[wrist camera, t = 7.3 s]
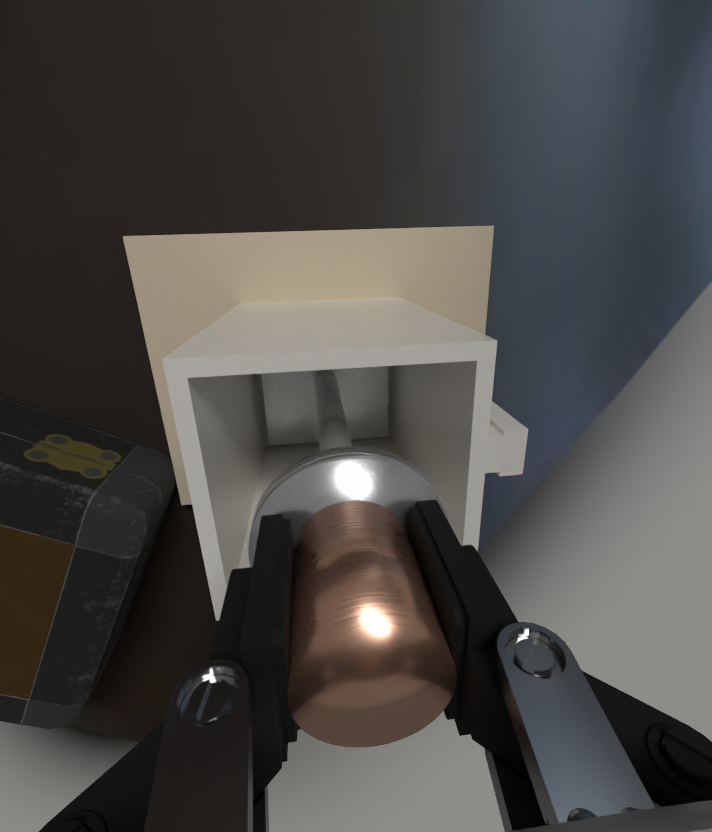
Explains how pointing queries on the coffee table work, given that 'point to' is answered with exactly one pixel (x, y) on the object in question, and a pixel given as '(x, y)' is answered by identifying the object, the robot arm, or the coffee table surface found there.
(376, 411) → the plunger
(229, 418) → the square white mug
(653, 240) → the coffee table surface
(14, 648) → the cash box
